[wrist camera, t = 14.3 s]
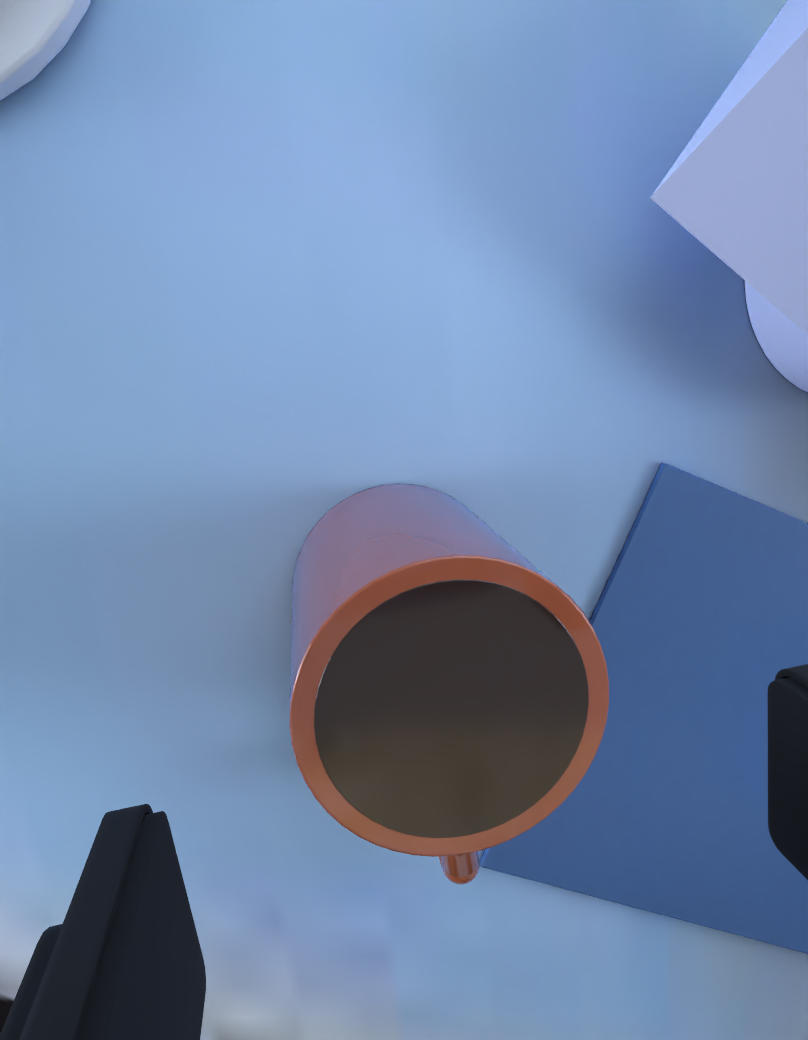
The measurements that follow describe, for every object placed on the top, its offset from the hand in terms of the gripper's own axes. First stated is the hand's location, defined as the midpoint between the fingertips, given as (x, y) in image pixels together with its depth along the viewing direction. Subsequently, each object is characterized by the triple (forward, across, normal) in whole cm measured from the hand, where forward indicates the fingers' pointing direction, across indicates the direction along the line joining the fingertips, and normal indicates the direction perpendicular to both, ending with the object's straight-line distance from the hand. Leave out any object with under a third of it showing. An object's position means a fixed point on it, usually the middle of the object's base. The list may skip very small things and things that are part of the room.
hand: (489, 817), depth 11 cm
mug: (+14, -1, +3) cm, 14 cm away
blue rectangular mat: (+13, -15, +10) cm, 22 cm away
